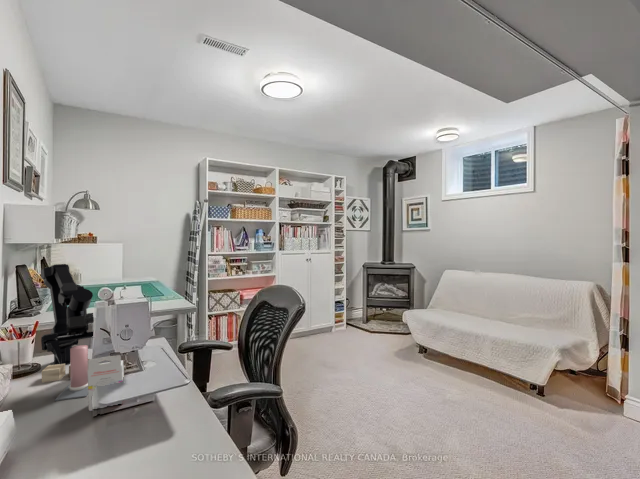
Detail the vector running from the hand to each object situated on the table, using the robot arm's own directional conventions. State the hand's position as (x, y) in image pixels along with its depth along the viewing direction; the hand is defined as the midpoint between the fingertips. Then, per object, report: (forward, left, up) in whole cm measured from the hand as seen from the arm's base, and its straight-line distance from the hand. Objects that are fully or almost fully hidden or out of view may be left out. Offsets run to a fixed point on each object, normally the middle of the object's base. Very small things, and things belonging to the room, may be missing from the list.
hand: (78, 360), depth 107 cm
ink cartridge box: (+14, +12, -9) cm, 21 cm away
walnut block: (-14, -4, -9) cm, 17 cm away
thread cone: (0, 0, -9) cm, 9 cm away
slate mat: (0, 0, -9) cm, 9 cm away
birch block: (-12, -11, -9) cm, 19 cm away
